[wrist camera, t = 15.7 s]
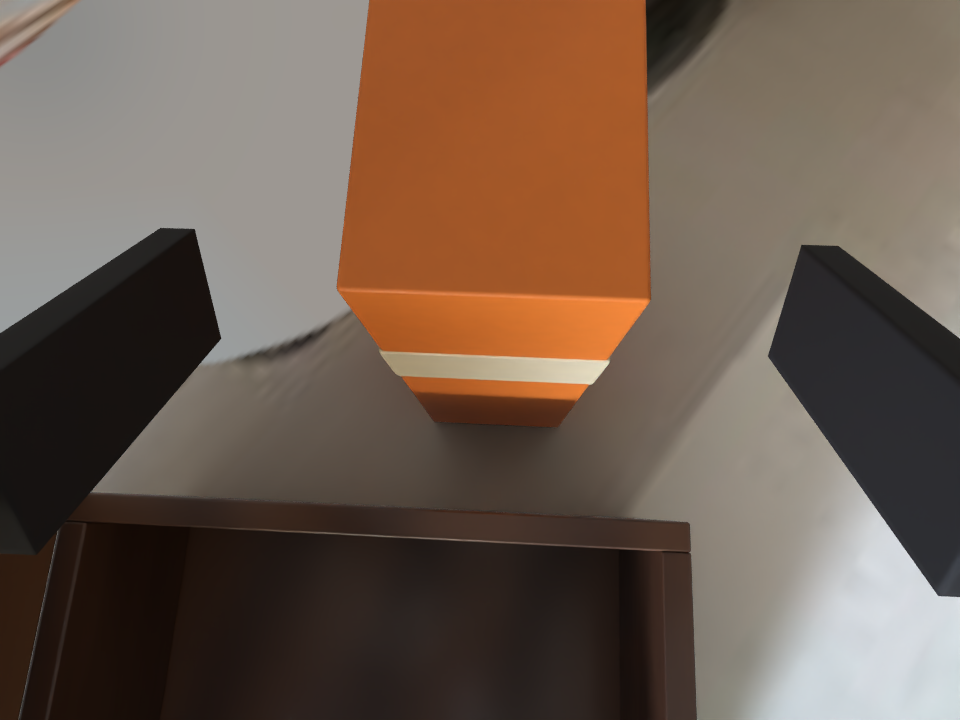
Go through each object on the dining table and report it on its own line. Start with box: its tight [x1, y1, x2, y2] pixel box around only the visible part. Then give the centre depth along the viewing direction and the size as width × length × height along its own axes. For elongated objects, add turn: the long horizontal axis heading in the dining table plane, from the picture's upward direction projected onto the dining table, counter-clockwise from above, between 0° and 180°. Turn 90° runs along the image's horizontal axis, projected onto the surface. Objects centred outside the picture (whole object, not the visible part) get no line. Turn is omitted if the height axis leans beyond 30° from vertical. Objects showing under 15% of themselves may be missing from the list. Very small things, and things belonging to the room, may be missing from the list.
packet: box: [337, 0, 651, 427], centre depth 18 cm, size 5×8×15 cm, turn 177°
